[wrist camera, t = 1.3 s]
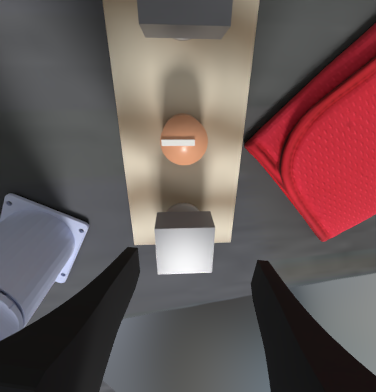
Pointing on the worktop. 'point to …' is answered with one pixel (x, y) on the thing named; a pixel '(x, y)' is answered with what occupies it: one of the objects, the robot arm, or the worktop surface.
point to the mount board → (180, 104)
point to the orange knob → (183, 139)
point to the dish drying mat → (327, 143)
